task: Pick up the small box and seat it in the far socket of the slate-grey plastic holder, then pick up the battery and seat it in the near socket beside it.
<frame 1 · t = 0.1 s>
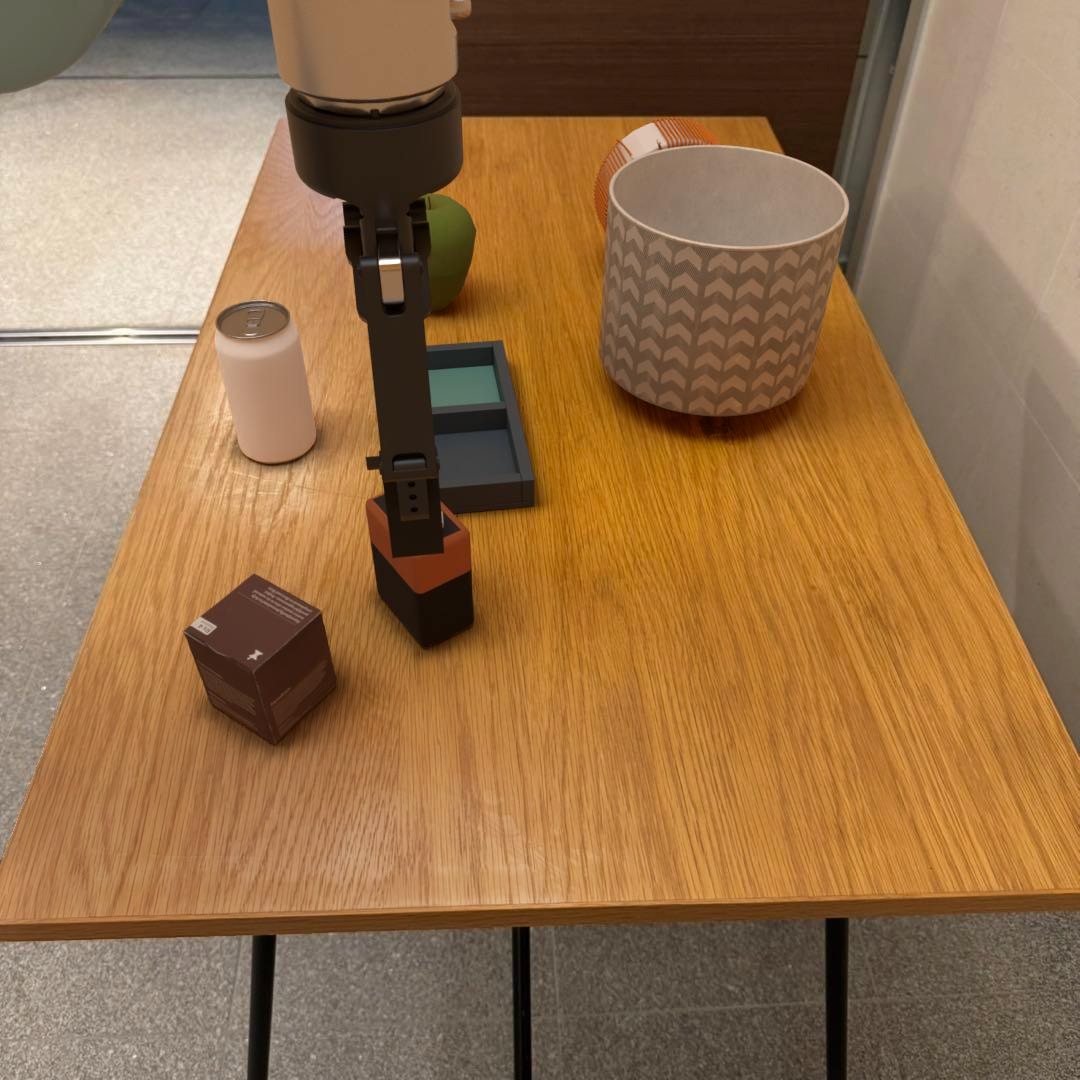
hand: (410, 469, 57), 16 cm above the table, tool pointing down, fingers open, 13 cm apart
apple: (436, 306, 102), on the table
battery: (425, 611, 71), on the table
coil: (663, 267, 108), on the table
can: (279, 444, 85), on the table
planter: (699, 383, 92), on the table
holder: (456, 435, 86), on the table
box: (274, 697, 65), on the table
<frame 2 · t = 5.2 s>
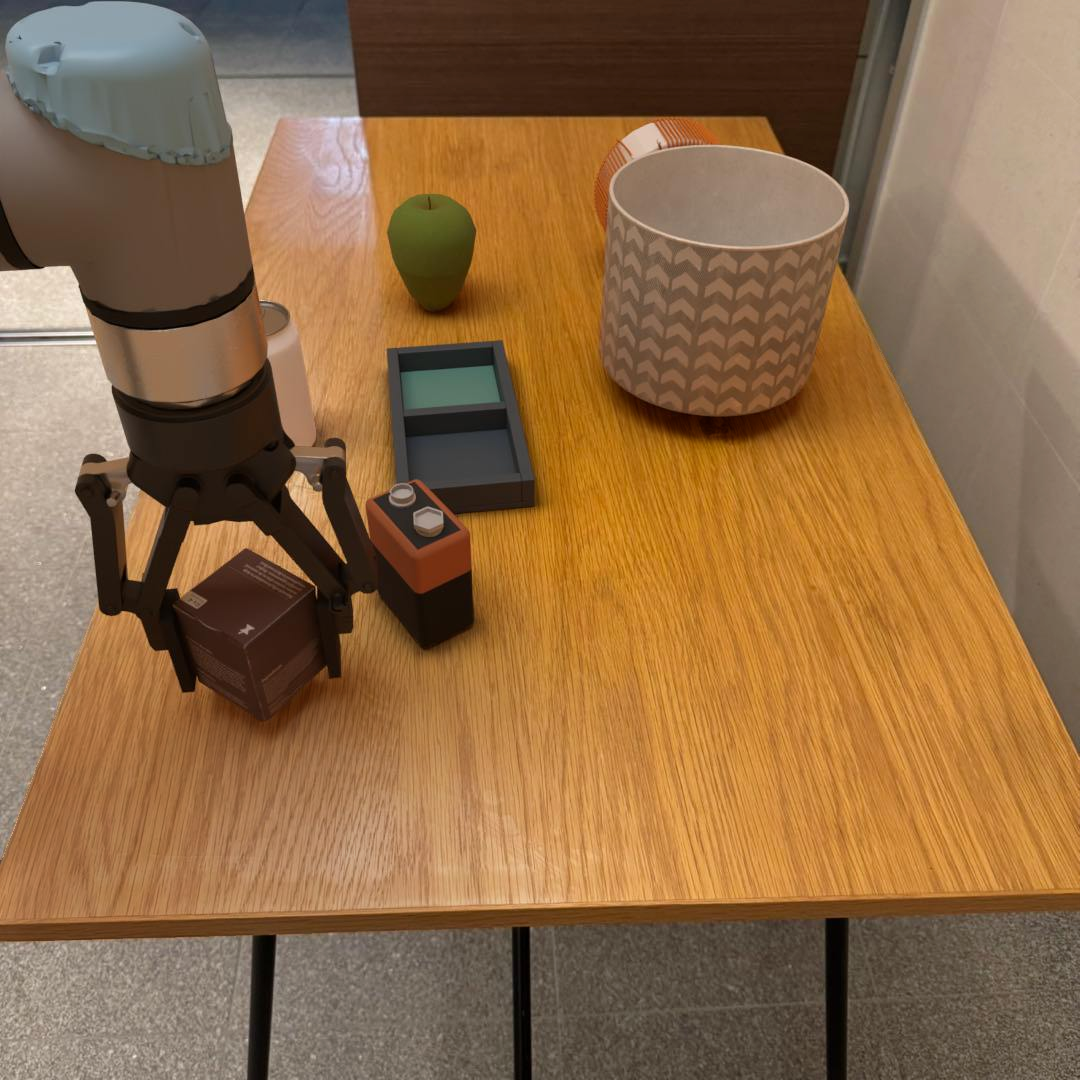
hand: (263, 668, 64), 3 cm above the table, tool pointing down, fingers closed on box, 8 cm apart
box: (265, 675, 64), point 2 cm above the table, touching gripper
everything else where it was.
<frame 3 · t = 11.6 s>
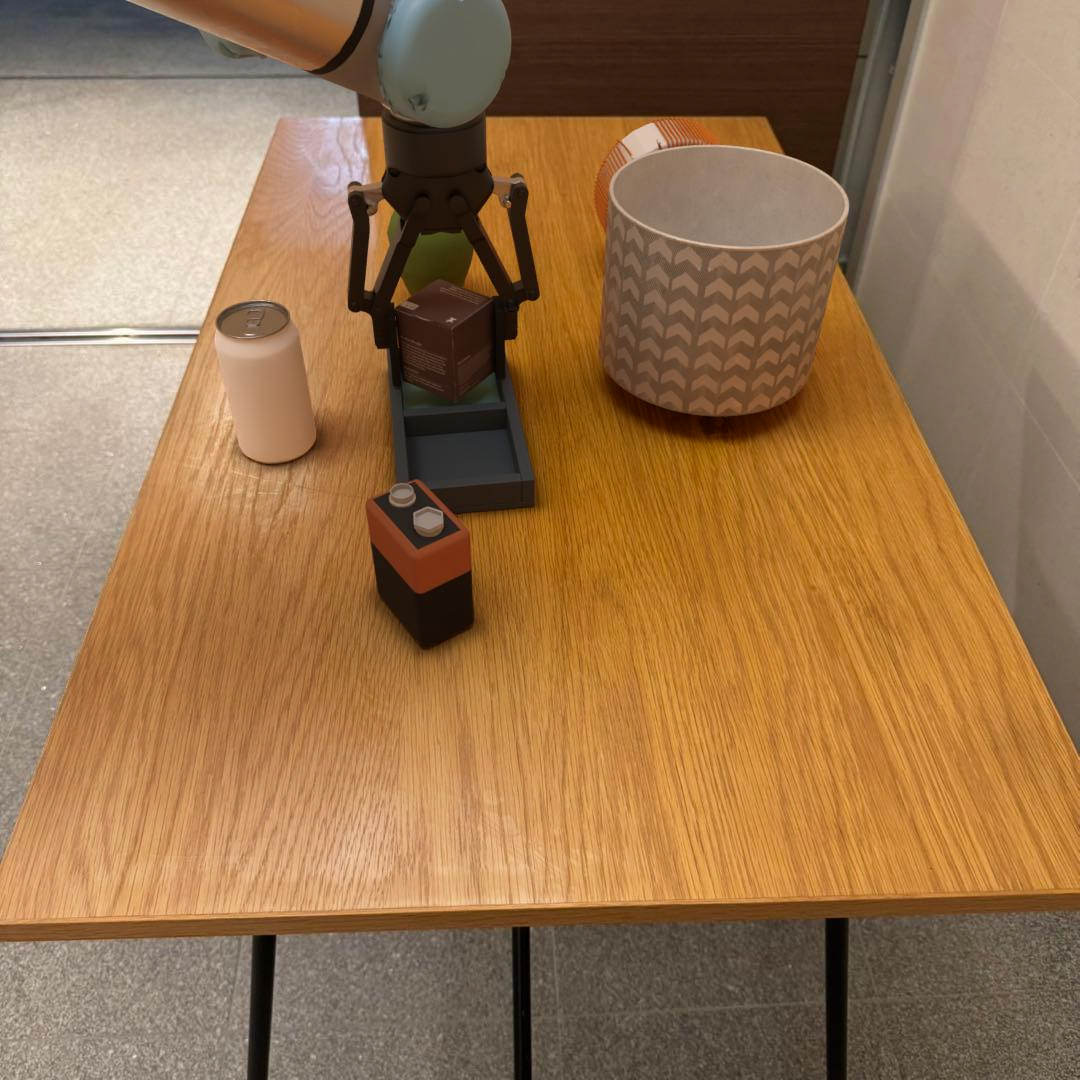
hand: (448, 373, 87), 3 cm above the table, tool pointing down, fingers closed on box, 8 cm apart
box: (448, 379, 87), point 3 cm above the table, touching gripper
everything else where it was.
when the fingers open (4 cm above the table, at t = 18.1 s): box drops 3 cm, resting on holder.
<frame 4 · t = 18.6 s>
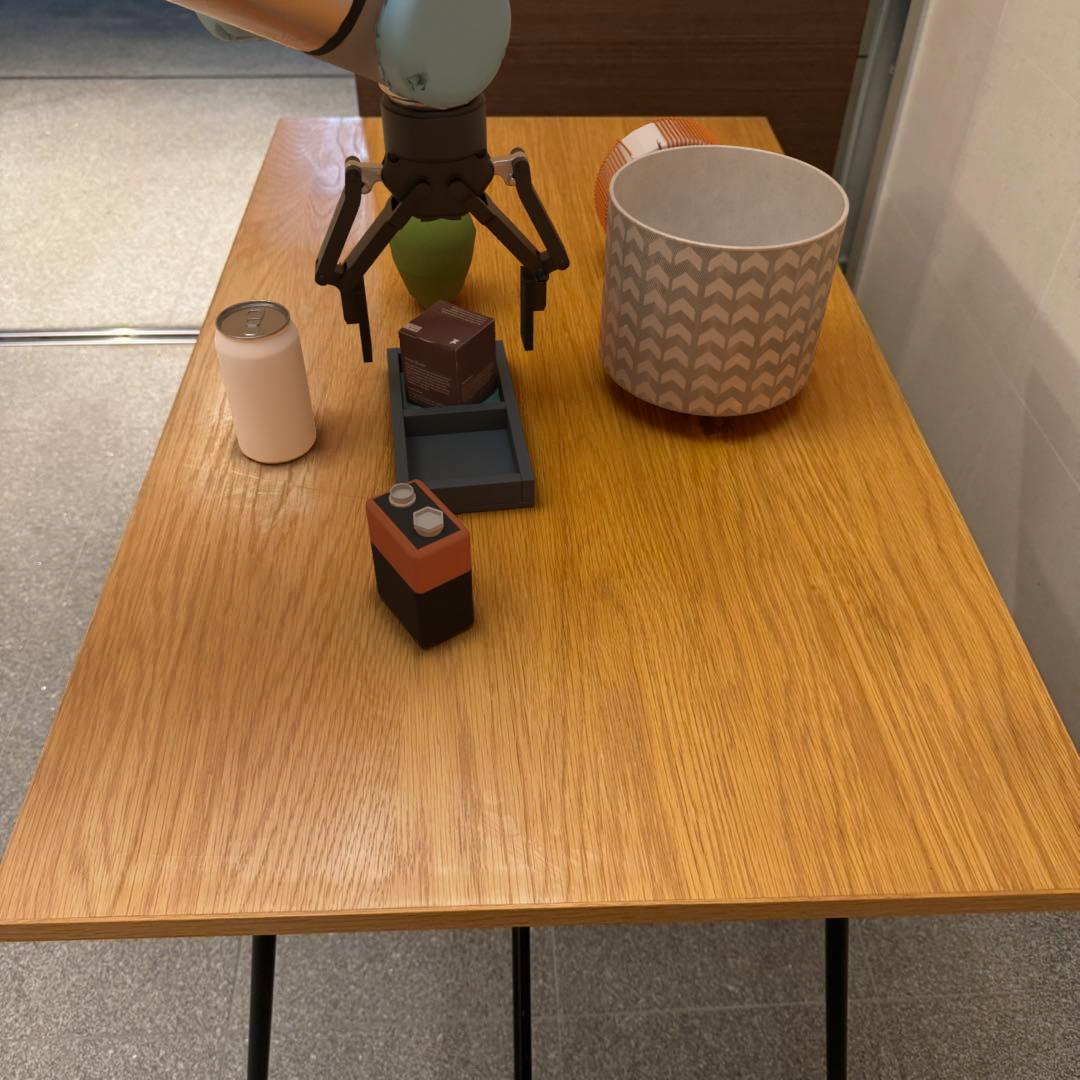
hand: (448, 348, 85), 6 cm above the table, tool pointing down, fingers open, 13 cm apart
box: (451, 397, 89), point 1 cm above the table, touching holder
everything else where it was.
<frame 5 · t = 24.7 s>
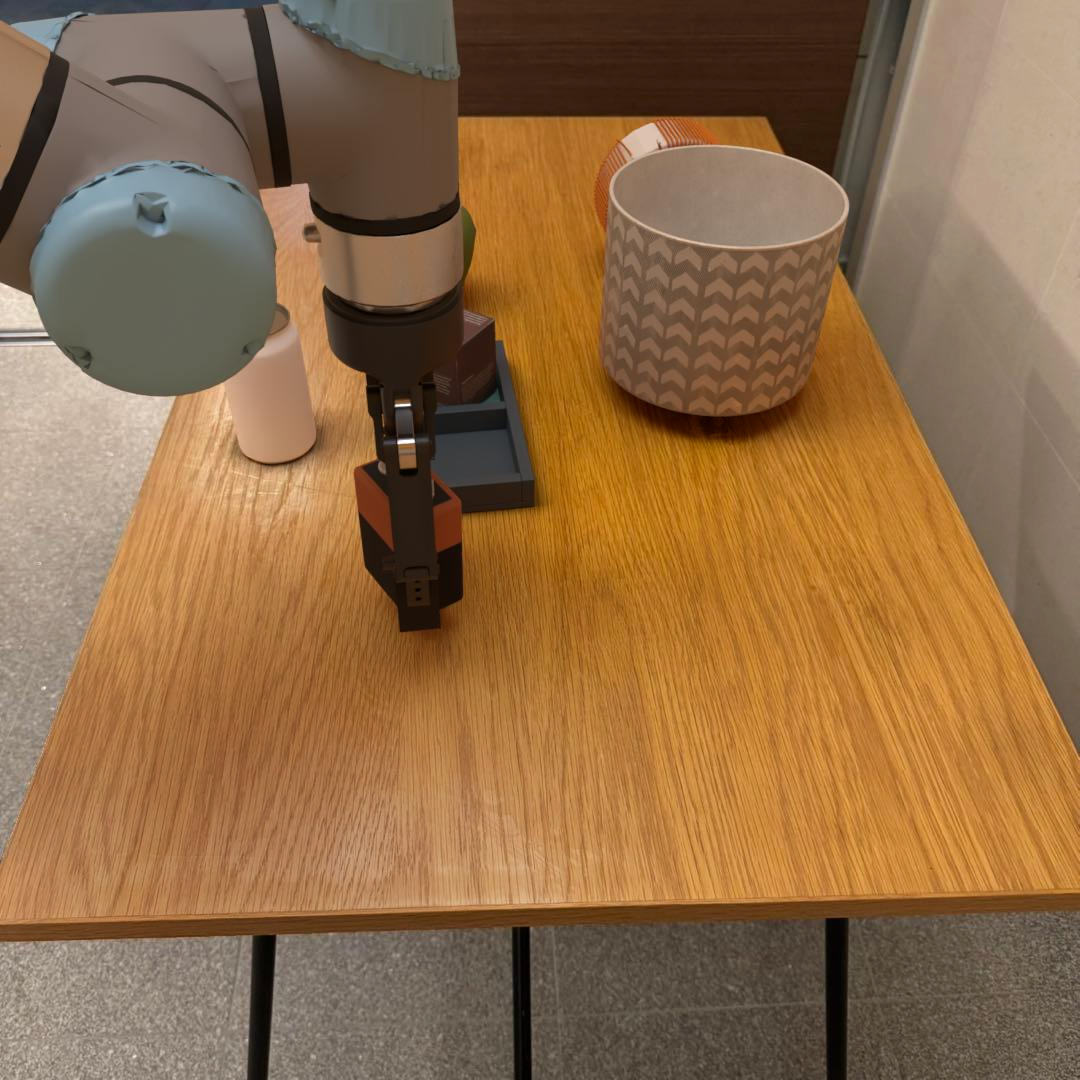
hand: (416, 580, 69), 3 cm above the table, tool pointing down, fingers closed on battery, 8 cm apart
battery: (413, 586, 69), point 3 cm above the table, touching gripper
everything else where it was.
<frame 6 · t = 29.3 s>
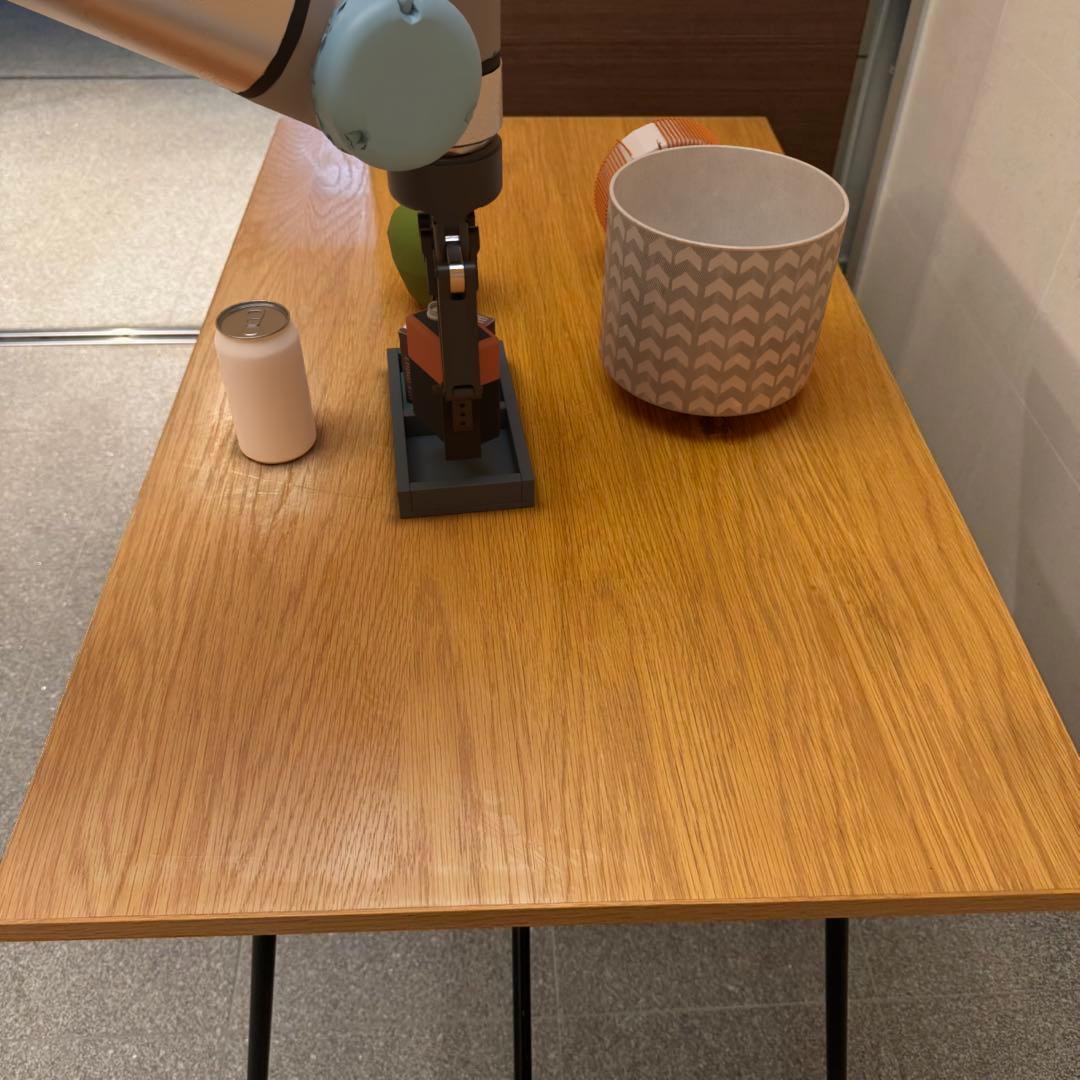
hand: (458, 423, 79), 5 cm above the table, tool pointing down, fingers closed on battery, 8 cm apart
battery: (456, 428, 79), point 4 cm above the table, touching gripper
everything else where it was.
when the fingers open (5 cm above the table, at t = 32.0 s): battery drops 4 cm, resting on holder.
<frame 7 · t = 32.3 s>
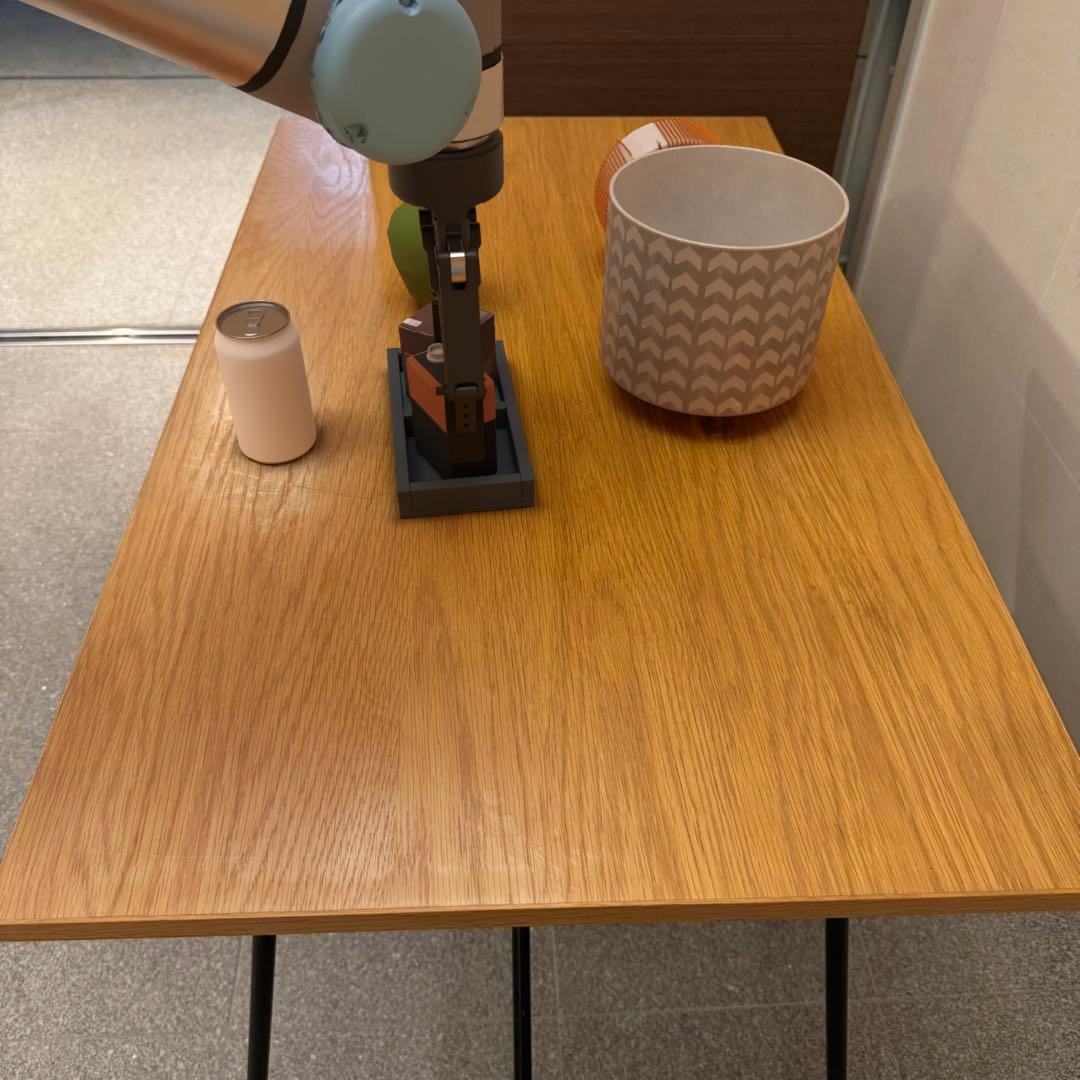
hand: (459, 413, 78), 6 cm above the table, tool pointing down, fingers open, 11 cm apart
battery: (456, 463, 82), resting on holder
box: (452, 394, 89), point 1 cm above the table, touching gripper, holder
everything else where it was.
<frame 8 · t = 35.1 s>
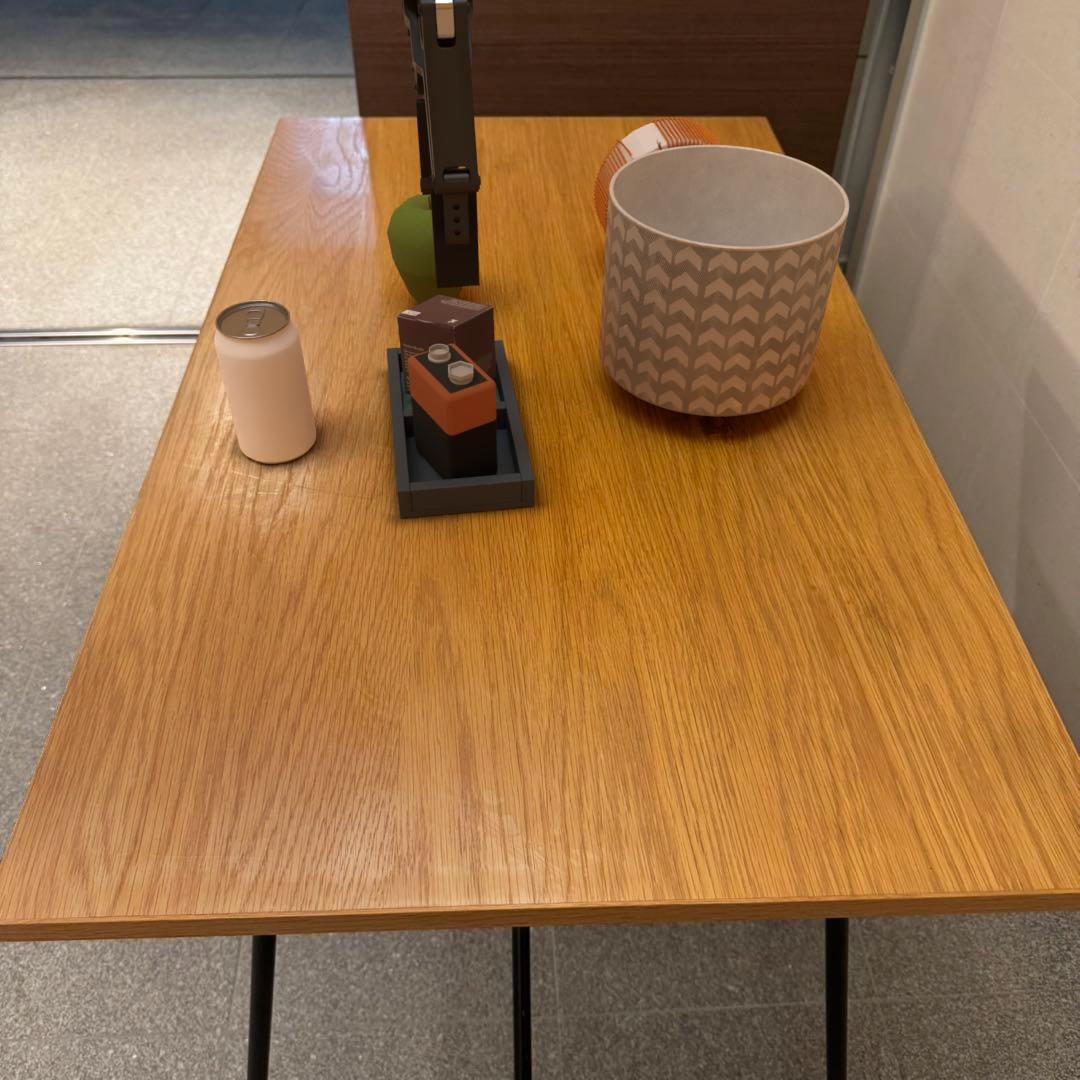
hand: (448, 235, 68), 21 cm above the table, tool pointing down, fingers open, 13 cm apart
box: (451, 392, 88), point 1 cm above the table, touching holder
everything else where it was.
at the end: box 0.3 cm from the target spot in the holder, point 1.4 cm above the holder's base; battery 0.6 cm from the target spot in the holder, point 0.4 cm above the holder's base; battery tilted 0° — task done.
